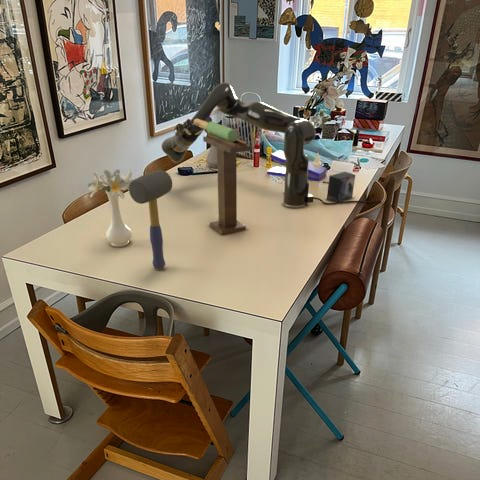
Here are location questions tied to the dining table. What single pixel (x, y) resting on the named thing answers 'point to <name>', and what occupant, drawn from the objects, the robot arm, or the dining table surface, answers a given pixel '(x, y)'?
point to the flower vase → (114, 204)
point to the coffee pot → (213, 156)
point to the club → (218, 130)
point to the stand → (227, 183)
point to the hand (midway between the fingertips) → (200, 120)
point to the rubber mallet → (152, 207)
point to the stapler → (280, 158)
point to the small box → (340, 186)
